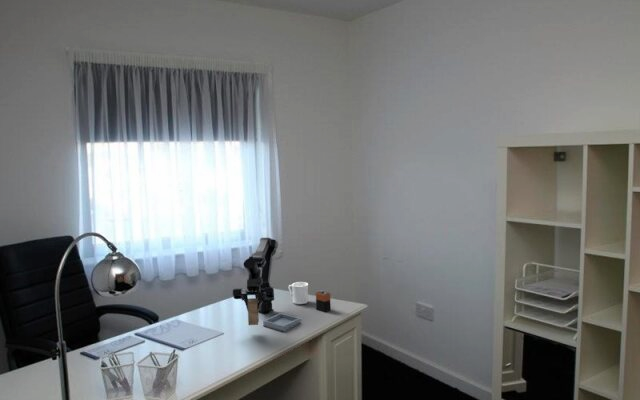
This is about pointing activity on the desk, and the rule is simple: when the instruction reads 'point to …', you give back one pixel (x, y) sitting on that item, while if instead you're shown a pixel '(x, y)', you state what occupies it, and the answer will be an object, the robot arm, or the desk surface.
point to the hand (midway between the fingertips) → (252, 310)
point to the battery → (323, 301)
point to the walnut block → (253, 311)
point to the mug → (299, 293)
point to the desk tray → (282, 322)
